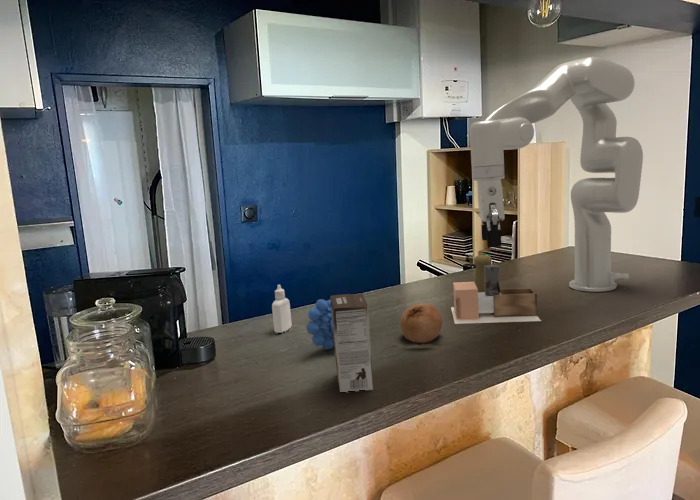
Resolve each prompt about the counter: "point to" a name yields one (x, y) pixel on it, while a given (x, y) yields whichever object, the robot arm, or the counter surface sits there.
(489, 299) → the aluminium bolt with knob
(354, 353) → the coffee box
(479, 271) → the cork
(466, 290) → the terracotta socket
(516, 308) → the walnut sleeve
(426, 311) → the onion
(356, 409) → the counter surface
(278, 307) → the eye dropper bottle
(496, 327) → the counter surface
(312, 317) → the grapes
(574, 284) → the robot arm
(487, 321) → the grey base board
